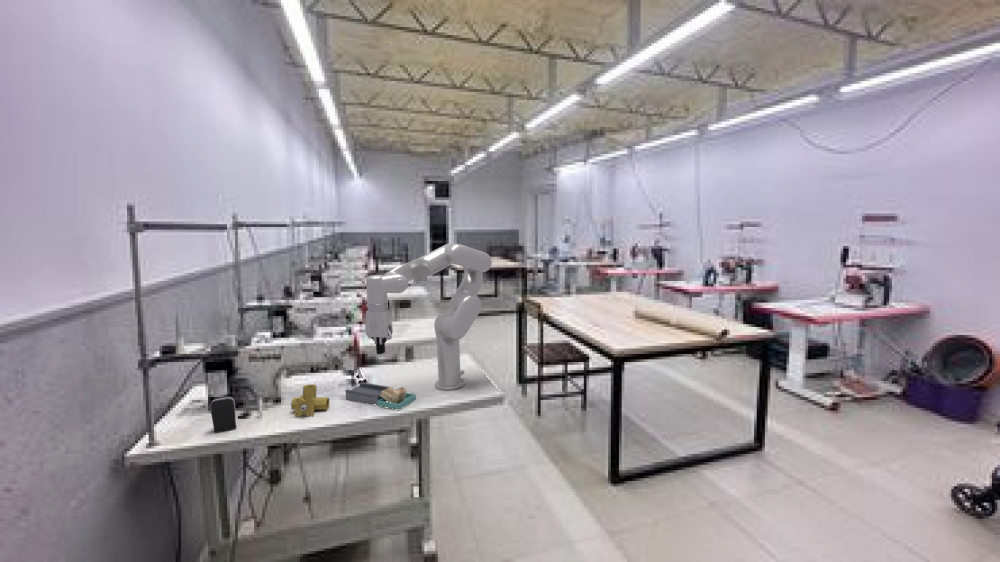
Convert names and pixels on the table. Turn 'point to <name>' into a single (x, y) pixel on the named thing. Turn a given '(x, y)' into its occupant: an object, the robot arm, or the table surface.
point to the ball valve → (309, 402)
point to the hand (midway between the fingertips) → (380, 353)
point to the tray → (407, 400)
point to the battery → (223, 414)
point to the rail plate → (365, 393)
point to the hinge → (360, 373)
